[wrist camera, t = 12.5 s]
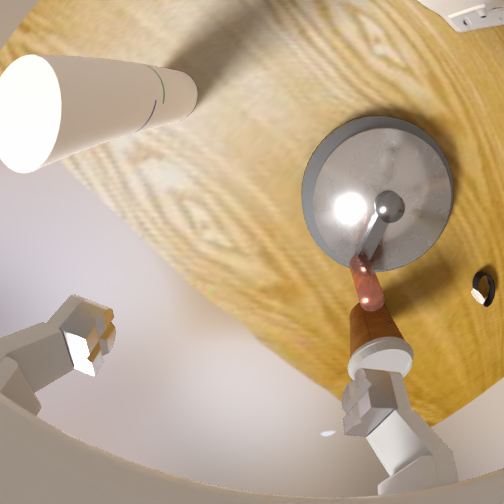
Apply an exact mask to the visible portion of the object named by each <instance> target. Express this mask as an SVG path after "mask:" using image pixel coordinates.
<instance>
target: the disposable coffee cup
mask: <svg viewBox="0 0 504 504" xmlns="http://www.w3.org/2000/svg"><path fill="white" fill-rule="evenodd" d="M412 360H413V350H412V348H411V346H410V345H409V344H408V343H407V342H406V341H405V340H404V339H403V337H402V335H401V333H400V331H399V329H398V328H397V326H396V324H395V322H394V321H393V319H392V317H391V316H390V314H389V312H388V310H387V309H386V307H385V305H384V304H383V306H382V307H381V308H379V309H378V310H375V311H365V310H364V309H363V308H362V307H361V305H360V303H359V304H357V305H356V306H355V307H354V308H353V309H352V311H351V313H350V361H349V364H348V373H349V376H350V377H351V378H352V379H353V380H355V376H354V374H355V373H356V372H357V370H358V369H360V368H366V369H375V370H384V371H393V372H400V373H401V374H402V377H405V376H406V374H407V373H408V372H409V371H410V369H411V366H412Z"/></svg>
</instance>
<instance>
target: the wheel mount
mask: <svg viewBox="0 0 504 504" xmlns="http://www.w3.org/2000/svg"><path fill="white" fill-rule="evenodd" d="M373 128H393V129H398V130H402V131H405V132H408V133H411V134H413V135H415V136H417V137H419V138H420V139H422V140H423V141H425V142H426V143H427V144H428V145H429V146H431V147H432V148H433V150H434V151H435V152H436V153H437V154H438V156H439V157H440V159H441V160H442V162H443V164H444V166H445V168H446V171H447V174H448V177H449V181H450V187H451V204H450V210H449V214H448V218H447V221H446V223H445V225H444V228H445V226H446V224H447V222H448V219H449V217H450V214H451V209H452V205H453V197H454V185H453V178H452V173H451V169H450V166H449V163H448V161H447V159H446V156H445V155H444V153H443V151H442V149H441V148H440V147H439V145H438V144H437V143H436V141H435V140H434V139H433V138H432V137H431V136H430V135H429V134H427V133H426V132H425V131H423V130H422V129H421V128H419V127H418V126H416V125H414V124H412V123H410V122H407V121H404V120H401V119H397V118H392V117H387V116H368V117H362V118H358V119H354V120H352V121H349V122H347V123H345V124H343V125H341V126H339V127H338V128H336V129H335V130H333V131H332V132H331V133H330V134H329V135H327V136H326V137H325V138H324V139H323V140H322V142H321V143H320V144H319V145H318V146H317V148H316V149H315V151H314V152H313V154H312V156H311V158H310V160H309V162H308V164H307V167H306V170H305V172H304V177H303V182H302V193H301V194H302V207H303V213H304V218H305V221H306V224H307V227H308V229H309V231H310V233H311V235H312V237H313V239H314V240H315V242H316V243H317V245H318V246H319V247H320V248H321V249H322V250H323V251H324V253H326V254H327V255H328V256H329V257H330V258H332V259H333V260H335V261H336V262H338V263H339V264H342V265H344V266H346V267H348V268H350V267H349V263H348V262H346V261H345V260H343V259H341V258H340V257H339V256H337V255H336V254H335V253H334V252H333V251H332V250H331V249H330V248H329V247H328V245H327V244H326V243H325V241H324V240H323V238H322V236H321V234H320V232H319V229H318V227H317V224H316V220H315V215H314V209H313V192H314V186H315V182H316V179H317V175H318V173H319V171H320V169H321V166H322V165H323V163H324V161H325V160H326V158H327V157H328V156H329V154H330V153H331V152H332V151H333V150H334V149H335V148H336V147H337V146H338V145H339V144H340V143H341V142H343V141H344V140H346V139H347V138H349V137H350V136H352V135H354V134H356V133H358V132H362V131H365V130H368V129H373ZM444 228H443V230H444ZM443 230H442V232H443ZM442 232H441V233H440V235H441V234H442ZM440 235H439V237H440ZM439 237H438V238H439ZM438 238H437V239H436V241H437V240H438ZM436 241H435V242H436ZM435 242H434V243H435ZM434 243H433V245H434ZM433 245H432V246H433ZM432 246H431V247H432ZM431 247H430V248H431ZM430 248H429V249H430ZM429 249H428V250H429ZM428 250H427V251H428ZM427 251H425V252H424V253H423V254H425V253H426V252H427ZM423 254H422V255H423ZM422 255H421V256H422ZM421 256H419V257H421ZM419 257H418V258H419ZM418 258H416V259H418ZM416 259H415V260H416ZM415 260H413V261H415ZM413 261H411V262H413ZM411 262H409V263H407V264H410V263H411ZM407 264H405V265H407ZM405 265H402V266H399V267H396V268H391V269H384V270H374V272H384V271H389V270H394V269H397V268H400V267H403V266H405Z"/></svg>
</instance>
